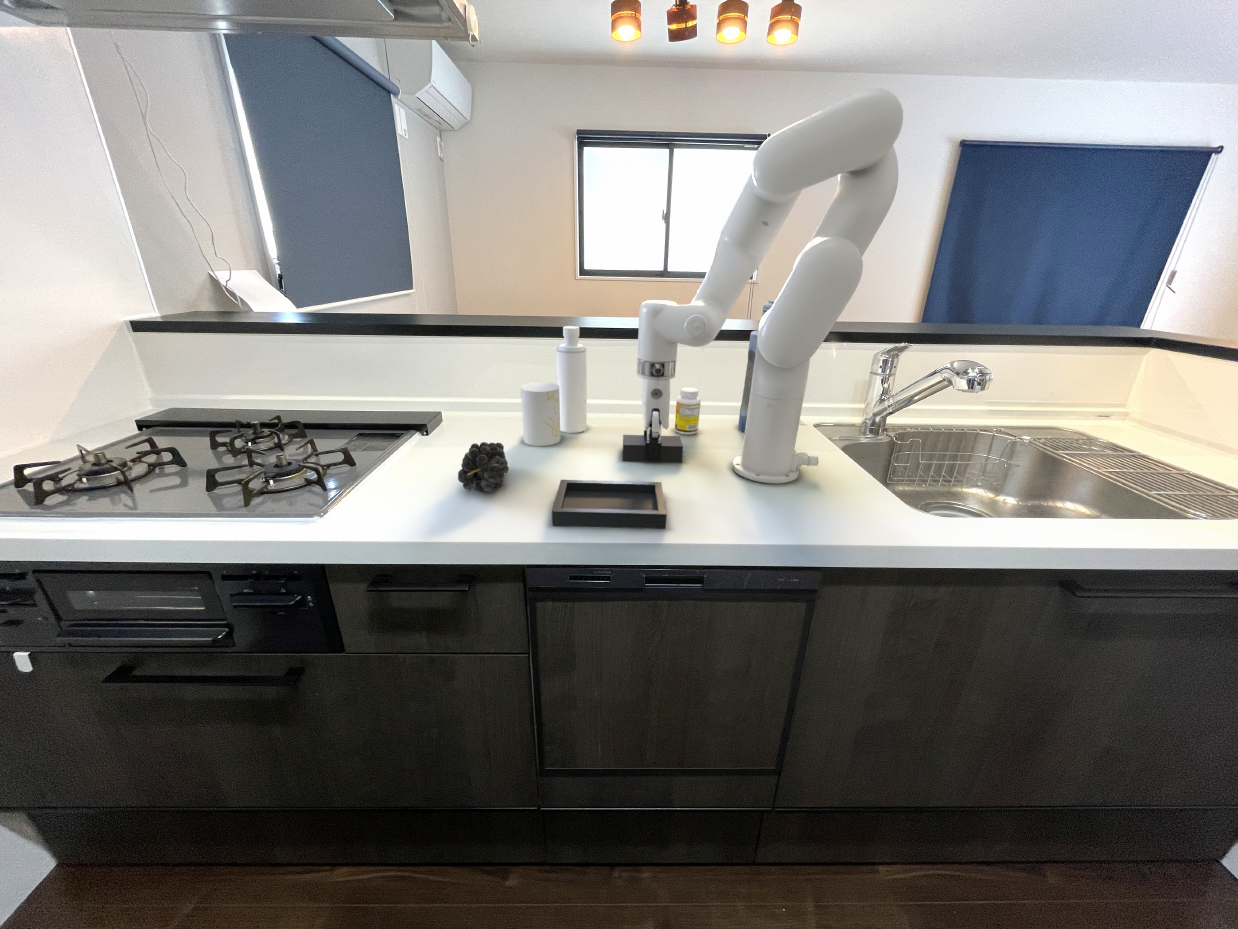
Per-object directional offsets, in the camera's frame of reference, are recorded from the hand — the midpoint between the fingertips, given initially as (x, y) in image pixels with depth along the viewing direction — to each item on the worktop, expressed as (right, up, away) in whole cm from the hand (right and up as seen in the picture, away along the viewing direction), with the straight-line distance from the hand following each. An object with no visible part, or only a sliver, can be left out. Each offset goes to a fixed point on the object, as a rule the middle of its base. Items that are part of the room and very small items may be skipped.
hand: (651, 453), depth 102 cm
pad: (0, -1, 0) cm, 1 cm away
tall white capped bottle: (-18, +6, +15) cm, 24 cm away
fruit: (-30, -5, -13) cm, 33 cm away
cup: (-24, +3, +8) cm, 25 cm away
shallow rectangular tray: (-8, -10, -21) cm, 25 cm away
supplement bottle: (+9, +5, +15) cm, 18 cm away
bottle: (+27, +6, +18) cm, 33 cm away
